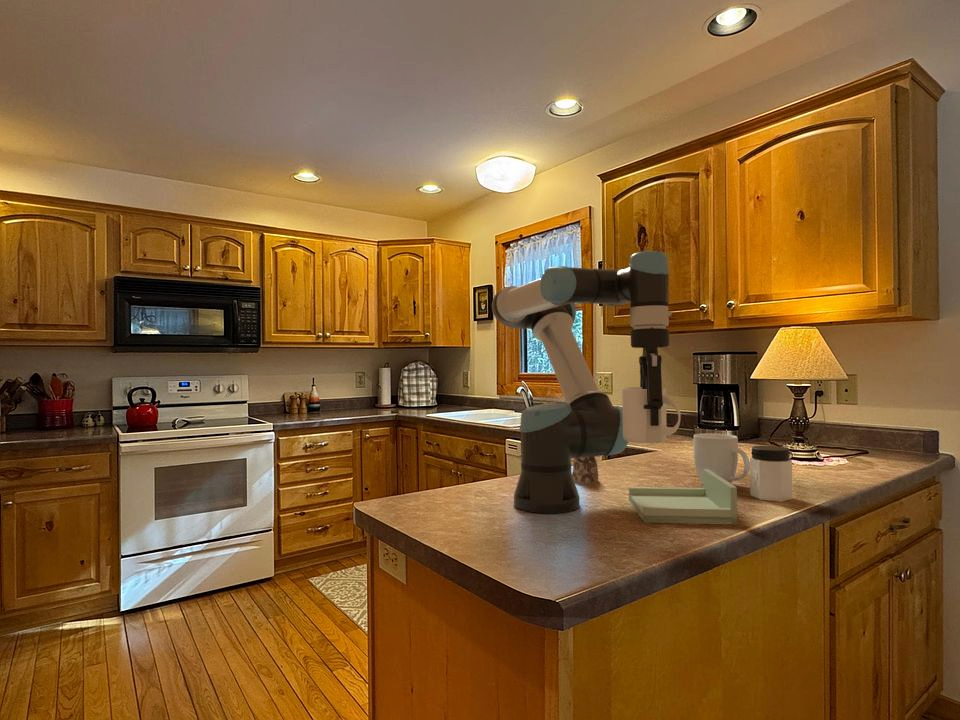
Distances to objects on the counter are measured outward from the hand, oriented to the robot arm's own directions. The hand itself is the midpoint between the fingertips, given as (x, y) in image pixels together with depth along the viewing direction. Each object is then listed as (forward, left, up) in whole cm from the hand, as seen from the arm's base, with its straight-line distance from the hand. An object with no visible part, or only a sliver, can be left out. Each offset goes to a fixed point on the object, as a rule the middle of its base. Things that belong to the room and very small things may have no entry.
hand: (650, 438), depth 114 cm
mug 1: (0, -1, -1) cm, 1 cm away
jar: (+33, +25, -18) cm, 45 cm away
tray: (+8, +11, -17) cm, 22 cm away
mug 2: (+25, +38, -18) cm, 48 cm away
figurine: (-10, +41, -18) cm, 45 cm away
